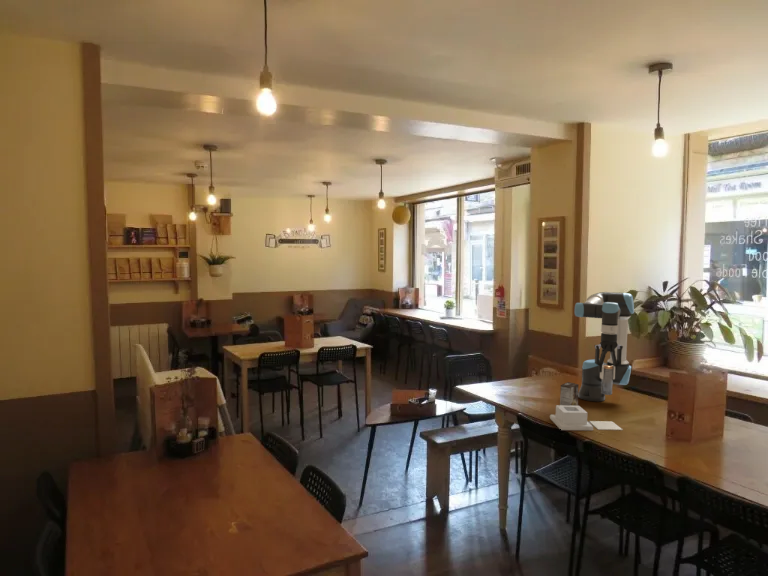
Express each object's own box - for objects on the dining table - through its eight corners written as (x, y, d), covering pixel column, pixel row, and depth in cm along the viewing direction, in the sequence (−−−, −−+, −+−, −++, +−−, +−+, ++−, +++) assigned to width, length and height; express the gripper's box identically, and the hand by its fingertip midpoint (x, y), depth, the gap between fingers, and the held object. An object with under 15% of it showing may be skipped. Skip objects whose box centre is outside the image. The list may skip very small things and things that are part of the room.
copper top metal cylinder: (599, 392, 269) (600, 365, 268) (609, 392, 269) (610, 365, 268) (603, 394, 264) (604, 367, 263) (613, 394, 264) (614, 367, 263)
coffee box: (566, 410, 293) (568, 381, 292) (578, 412, 289) (579, 384, 288) (559, 413, 287) (560, 384, 286) (570, 416, 283) (571, 387, 281)
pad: (589, 421, 274) (589, 421, 274) (612, 422, 274) (612, 421, 274) (598, 429, 262) (598, 429, 262) (622, 430, 262) (622, 429, 262)
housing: (549, 418, 279) (550, 403, 279) (580, 418, 279) (580, 403, 278) (560, 430, 261) (561, 414, 261) (593, 430, 261) (593, 414, 260)
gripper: (594, 334, 261) (592, 380, 262) (630, 334, 260) (628, 380, 262) (588, 331, 268) (586, 376, 270) (623, 332, 268) (621, 376, 270)
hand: (607, 378), depth 266 cm, fingers closed on copper top metal cylinder, 5 cm apart
